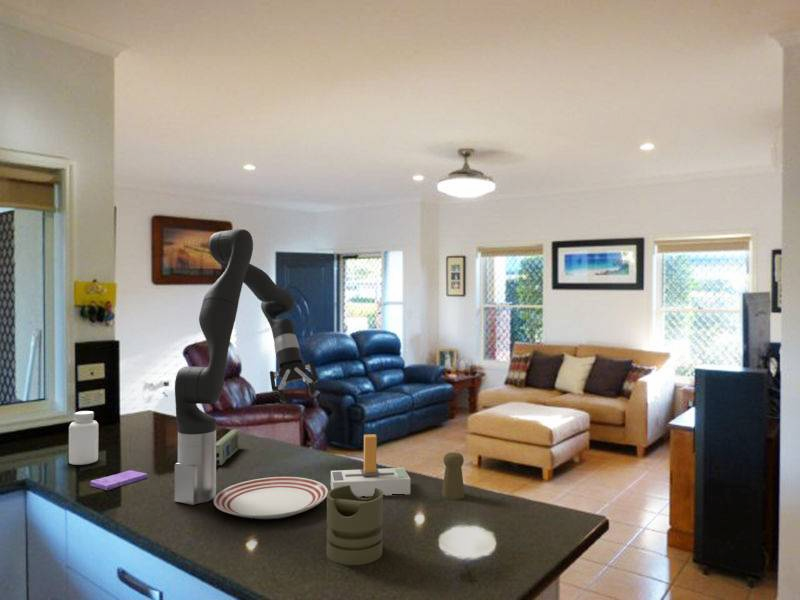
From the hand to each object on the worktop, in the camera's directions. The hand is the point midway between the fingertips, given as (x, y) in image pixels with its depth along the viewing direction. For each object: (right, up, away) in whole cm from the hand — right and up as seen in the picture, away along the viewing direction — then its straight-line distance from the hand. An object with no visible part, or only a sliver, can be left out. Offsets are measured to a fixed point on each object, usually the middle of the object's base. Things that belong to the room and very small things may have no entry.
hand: (298, 399), depth 188 cm
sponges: (-46, -20, -20) cm, 54 cm away
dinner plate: (0, -21, -37) cm, 42 cm away
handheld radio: (-24, -19, +3) cm, 31 cm away
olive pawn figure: (+45, -21, -28) cm, 57 cm away
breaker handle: (+23, -16, -25) cm, 37 cm away
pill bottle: (-65, -19, -2) cm, 67 cm away
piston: (+22, -21, -63) cm, 70 cm away
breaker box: (+23, -20, -25) cm, 39 cm away
